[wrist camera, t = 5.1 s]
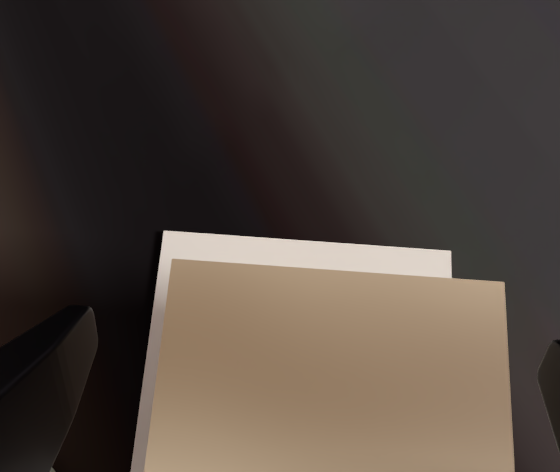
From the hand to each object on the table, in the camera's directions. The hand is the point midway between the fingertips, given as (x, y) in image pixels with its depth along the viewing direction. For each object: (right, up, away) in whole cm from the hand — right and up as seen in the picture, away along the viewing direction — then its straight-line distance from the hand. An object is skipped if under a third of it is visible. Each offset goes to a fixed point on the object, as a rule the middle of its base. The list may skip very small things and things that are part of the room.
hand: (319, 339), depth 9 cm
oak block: (0, -3, +6) cm, 7 cm away
